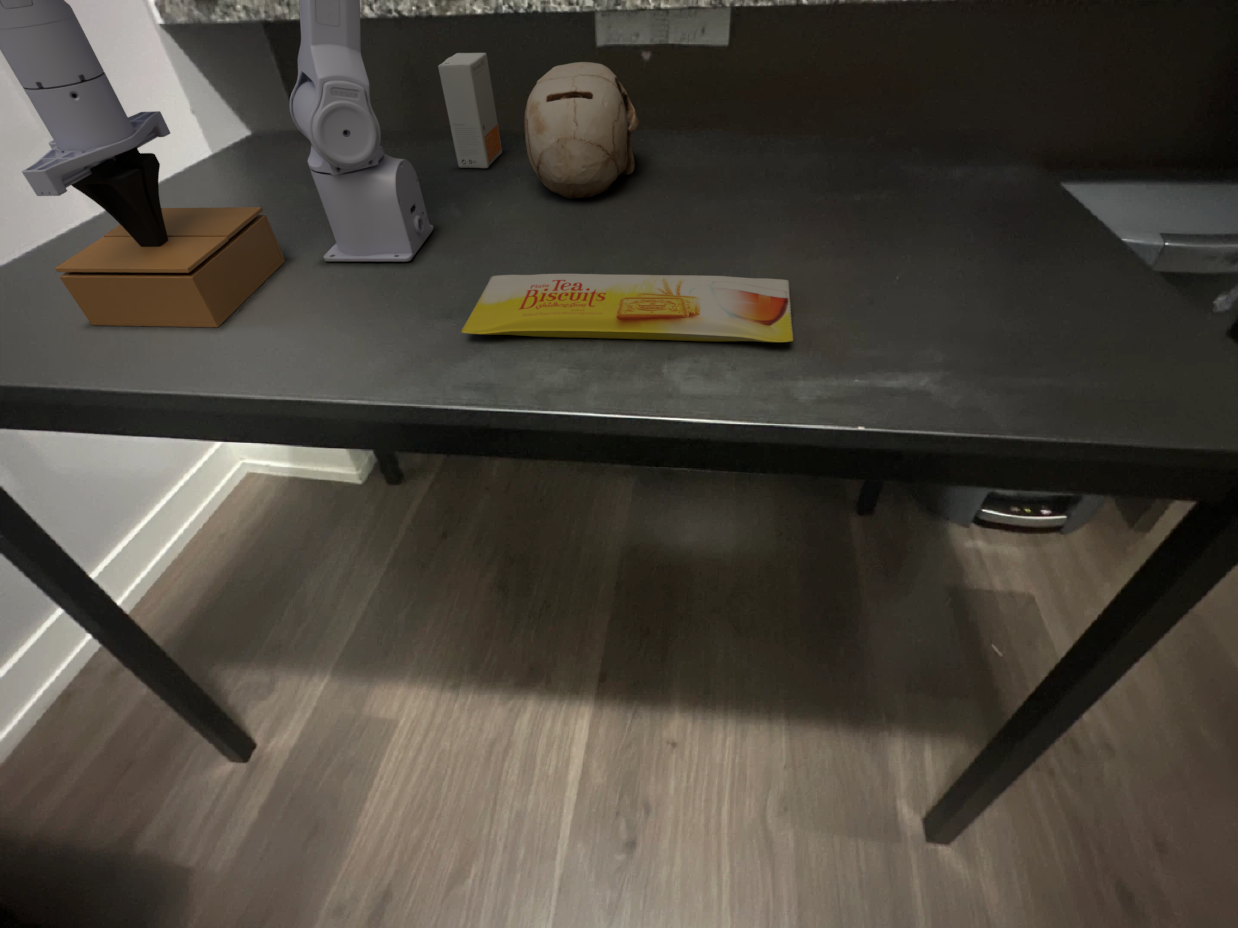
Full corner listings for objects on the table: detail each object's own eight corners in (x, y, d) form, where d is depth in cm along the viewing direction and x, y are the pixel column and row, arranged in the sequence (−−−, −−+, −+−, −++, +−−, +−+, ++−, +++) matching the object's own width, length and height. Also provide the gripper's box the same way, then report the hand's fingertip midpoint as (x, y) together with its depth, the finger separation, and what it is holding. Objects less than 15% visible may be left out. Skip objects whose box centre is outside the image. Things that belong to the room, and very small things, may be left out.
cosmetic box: (489, 169, 88) (469, 64, 80) (458, 168, 89) (435, 65, 81) (504, 152, 92) (487, 51, 84) (474, 152, 93) (454, 52, 85)
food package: (456, 321, 56) (489, 264, 64) (462, 344, 58) (494, 286, 65) (795, 329, 52) (790, 267, 60) (792, 354, 54) (787, 291, 61)
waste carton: (285, 260, 72) (262, 206, 68) (218, 327, 62) (187, 268, 58) (173, 260, 73) (144, 207, 70) (91, 325, 64) (53, 268, 60)
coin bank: (603, 142, 92) (598, 30, 82) (676, 195, 82) (679, 75, 72) (498, 174, 87) (478, 59, 77) (561, 235, 78) (548, 112, 67)
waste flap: (229, 240, 63) (227, 236, 63) (189, 272, 59) (187, 268, 59) (105, 240, 65) (102, 236, 65) (57, 272, 60) (54, 267, 60)
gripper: (82, 57, 59) (162, 210, 69) (-57, 109, 49) (60, 281, 58) (155, 54, 59) (227, 210, 68) (29, 106, 48) (134, 282, 57)
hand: (154, 243), depth 63 cm, fingers closed, pressing on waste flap
